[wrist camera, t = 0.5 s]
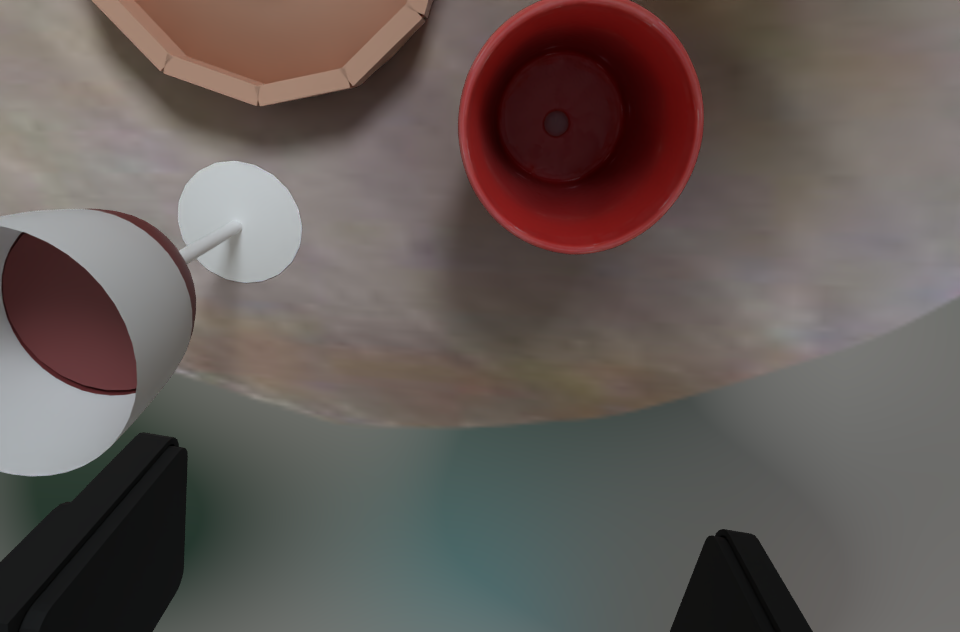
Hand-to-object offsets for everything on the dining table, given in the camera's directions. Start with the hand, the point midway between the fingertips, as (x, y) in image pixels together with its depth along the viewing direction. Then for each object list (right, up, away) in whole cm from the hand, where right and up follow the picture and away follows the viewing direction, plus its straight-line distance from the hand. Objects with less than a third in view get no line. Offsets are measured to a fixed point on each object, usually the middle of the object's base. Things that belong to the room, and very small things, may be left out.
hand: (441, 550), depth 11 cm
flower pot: (+5, +16, +25) cm, 30 cm away
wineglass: (-14, +10, +28) cm, 32 cm away
